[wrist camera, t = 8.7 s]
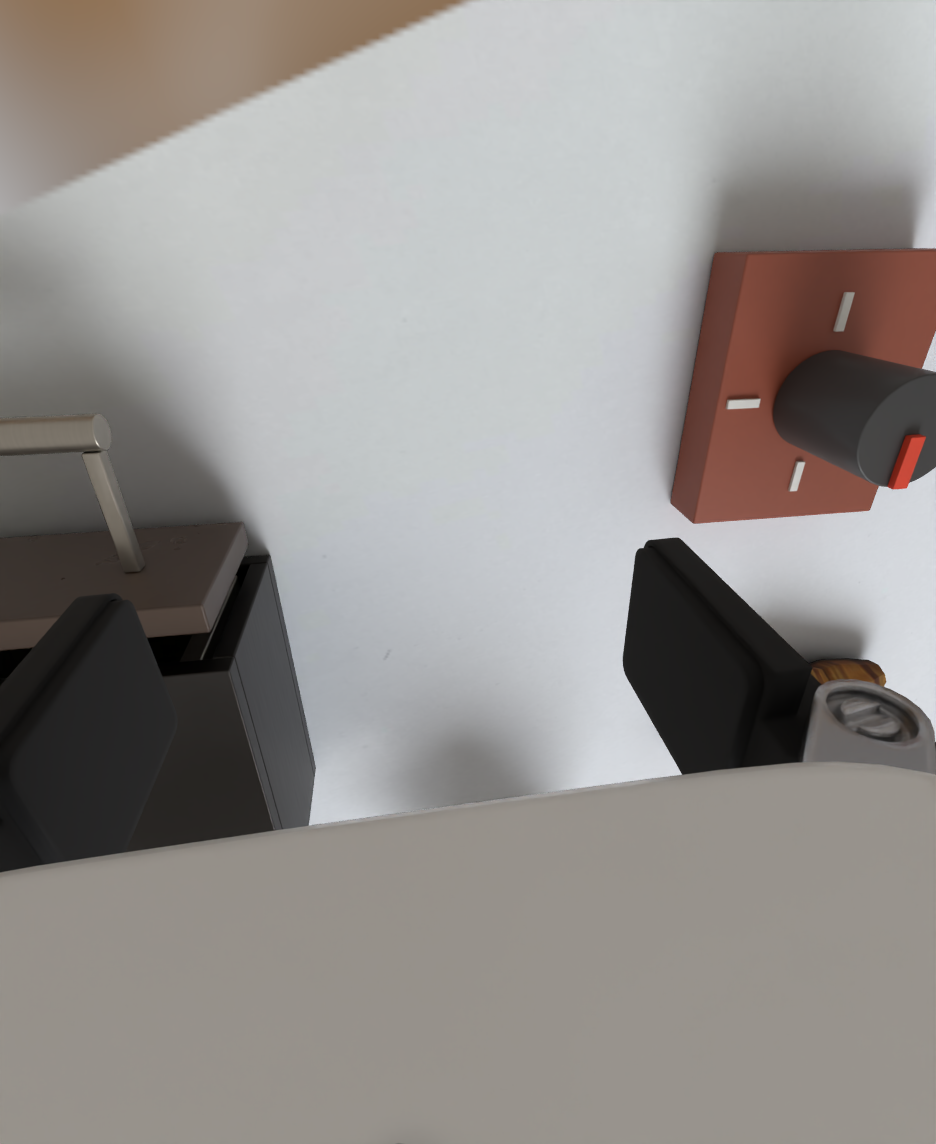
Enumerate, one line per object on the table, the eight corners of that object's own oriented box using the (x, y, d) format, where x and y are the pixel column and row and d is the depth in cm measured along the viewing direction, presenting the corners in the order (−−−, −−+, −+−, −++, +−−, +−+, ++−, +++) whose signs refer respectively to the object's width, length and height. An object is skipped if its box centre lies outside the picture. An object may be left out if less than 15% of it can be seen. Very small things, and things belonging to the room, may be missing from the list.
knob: (785, 352, 23) (885, 379, 18) (876, 346, 23) (997, 371, 19) (762, 449, 25) (848, 494, 20) (847, 442, 25) (949, 485, 21)
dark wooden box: (-41, 577, 26) (-212, 712, 18) (270, 554, 27) (229, 670, 20) (75, 794, 33) (-13, 954, 26) (316, 767, 34) (298, 910, 27)
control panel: (713, 252, 23) (750, 253, 21) (914, 248, 24) (970, 248, 22) (669, 503, 29) (694, 525, 26) (834, 492, 30) (872, 512, 27)
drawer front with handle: (-139, 400, 21) (-341, 460, 15) (212, 385, 22) (152, 435, 16) (58, 766, 31) (-19, 889, 25) (294, 740, 32) (275, 851, 26)
